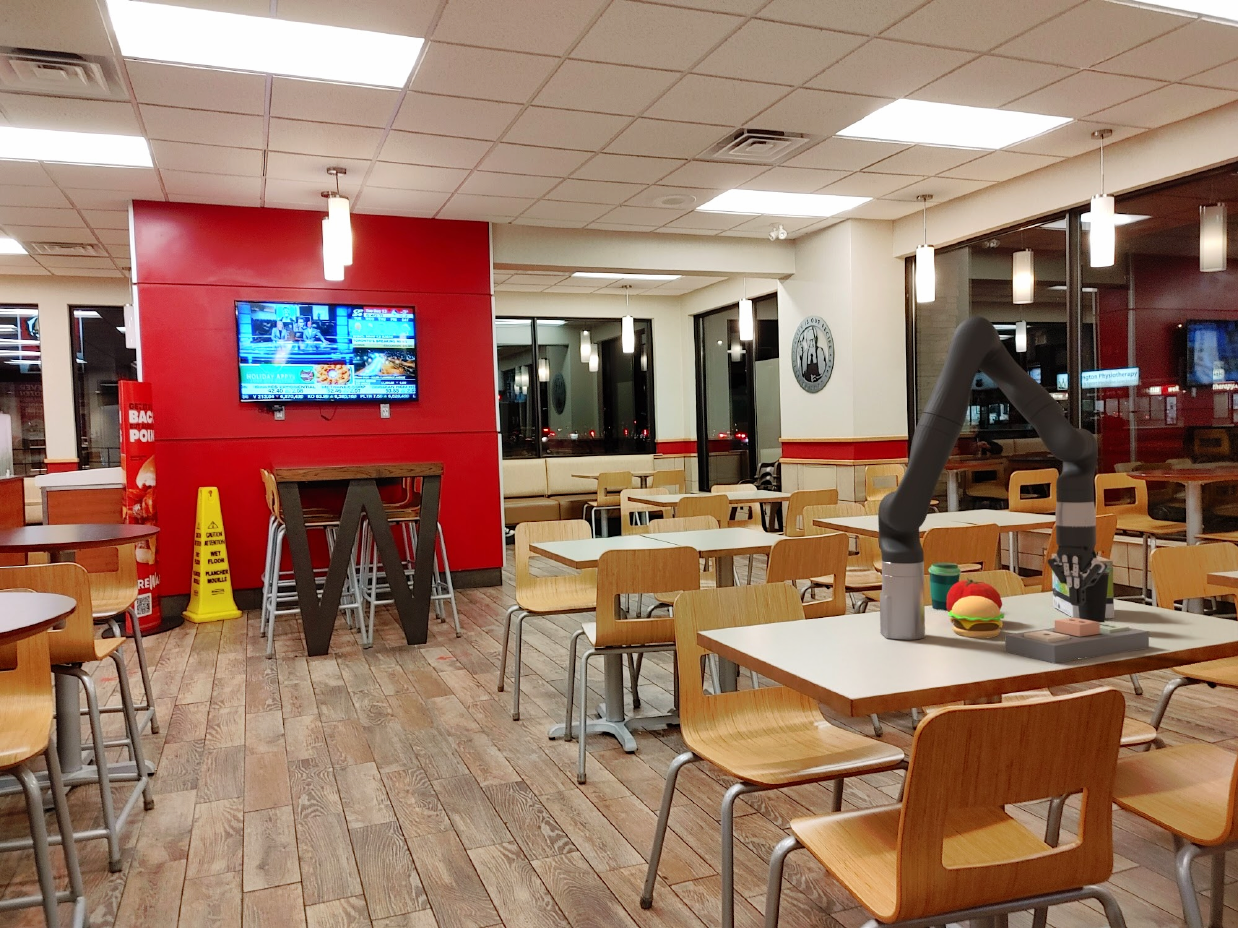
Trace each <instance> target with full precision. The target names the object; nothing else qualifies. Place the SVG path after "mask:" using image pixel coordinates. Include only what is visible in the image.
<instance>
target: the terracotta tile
mask: <svg viewBox="0 0 1238 928" xmlns="http://www.w3.org/2000/svg"><path fill="white" fill-rule="evenodd" d="M1054 628H1055V632H1060V633H1064V634H1069V635H1074V636H1079V637H1081V636H1088V635H1094V634H1100V622H1096V621H1090V620H1085V619H1080V618H1072V617H1070V618H1069V617H1068V618H1062V619H1061V618H1060V619H1055V620H1054Z"/></svg>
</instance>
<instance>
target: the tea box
mask: <svg viewBox="0 0 1238 928" xmlns="http://www.w3.org/2000/svg"><path fill="white" fill-rule="evenodd" d="M1056 555H1057V553H1051V559H1052V558H1054V557H1055V556H1056ZM1097 559H1098V560H1099V561H1100V562H1101V563H1105V564H1107V568H1106V570H1108V571H1110V574H1109V578H1108V589H1107V601H1106V612H1105V619H1114V618H1115V603H1114V601H1115V600H1114V599H1115V597H1114V596H1115V595H1114V594H1115V593H1114V566H1113V565H1114V563H1113V561H1114V560H1111V559H1108V558H1106V557H1102V556H1099V555H1097ZM1071 572H1073V571H1071ZM1051 577H1052V607H1053V608H1054V609H1057V610H1059V611H1060V612H1062V613H1063V614H1066V615H1067V616H1069V617H1070V616H1071V617H1070V618H1079V609H1078V606H1074V605H1071V602H1070V600H1069V587H1068V586H1067V585H1066V584H1064V583H1063V584H1062V583H1060V581H1059V579H1058V578H1057V576H1056V575H1055V573H1054V572H1053V570H1052V569H1051ZM1079 619H1080V618H1079Z"/></svg>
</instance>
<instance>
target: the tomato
mask: <svg viewBox="0 0 1238 928" xmlns="http://www.w3.org/2000/svg"><path fill="white" fill-rule="evenodd" d="M968 596H981V597H984V598H987V599H989V600H992V601H993V602H994V603H995V604H997V606H998V608H999V609H1000V610H1001V609H1002V606H1003V601H1002V598H1001V594H1000V593H999V592H998V591H997V589H996V588H995V587H994V586H992V585H990V583H986V582H982V581H974V580H973V579H970V578H968V577H966V580H959V582H958V583H956V584H954V585H953V586H952V587H951V589H950V590H949V592H948V594H947V609H948V610H947V611H948V612H947V613H949V612H950V611H951V610H952V607H953V606H954V604H955V603H956V602H957V601H958V600H960V599H962V598H965V597H968Z"/></svg>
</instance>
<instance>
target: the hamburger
mask: <svg viewBox="0 0 1238 928" xmlns="http://www.w3.org/2000/svg"><path fill="white" fill-rule="evenodd" d="M947 614H948V617H950V620H949V621H950V622H951V624H953V626H952V630H953V632H954V633H955V635H958V636H961V637H965V636H967V637H966V638H973V637H977V638H979V639H988V638H987V637H990V638H994V637H997V636H998V635H1000V633H1001V629H1002V628H1003V625H1004V624H1003V621H1002V619H1005V614H1004V613H1001V609H999V608H998V606H997V604H995V603H994V602H993V601H992V600H989V599H987V598H984V597H981V596H968V597H965V598H962V599H960V600H958V601H957V602H956V603H955V604H954V606H953V607H952V610H951V611H950V612H947Z"/></svg>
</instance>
